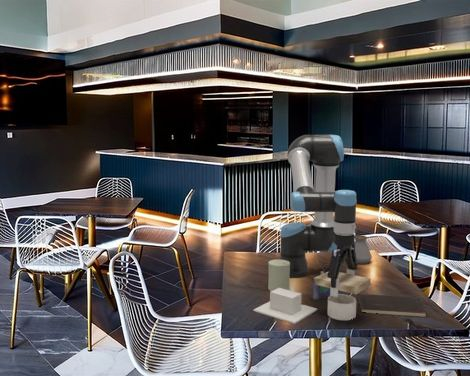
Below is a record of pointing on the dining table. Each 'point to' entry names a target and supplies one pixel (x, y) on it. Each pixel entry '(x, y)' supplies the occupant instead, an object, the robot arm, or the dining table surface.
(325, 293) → the flask
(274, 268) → the can
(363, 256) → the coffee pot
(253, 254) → the dining table surface
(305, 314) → the stand
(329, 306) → the bowl
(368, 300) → the hardcover book
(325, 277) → the wavy beige panel
